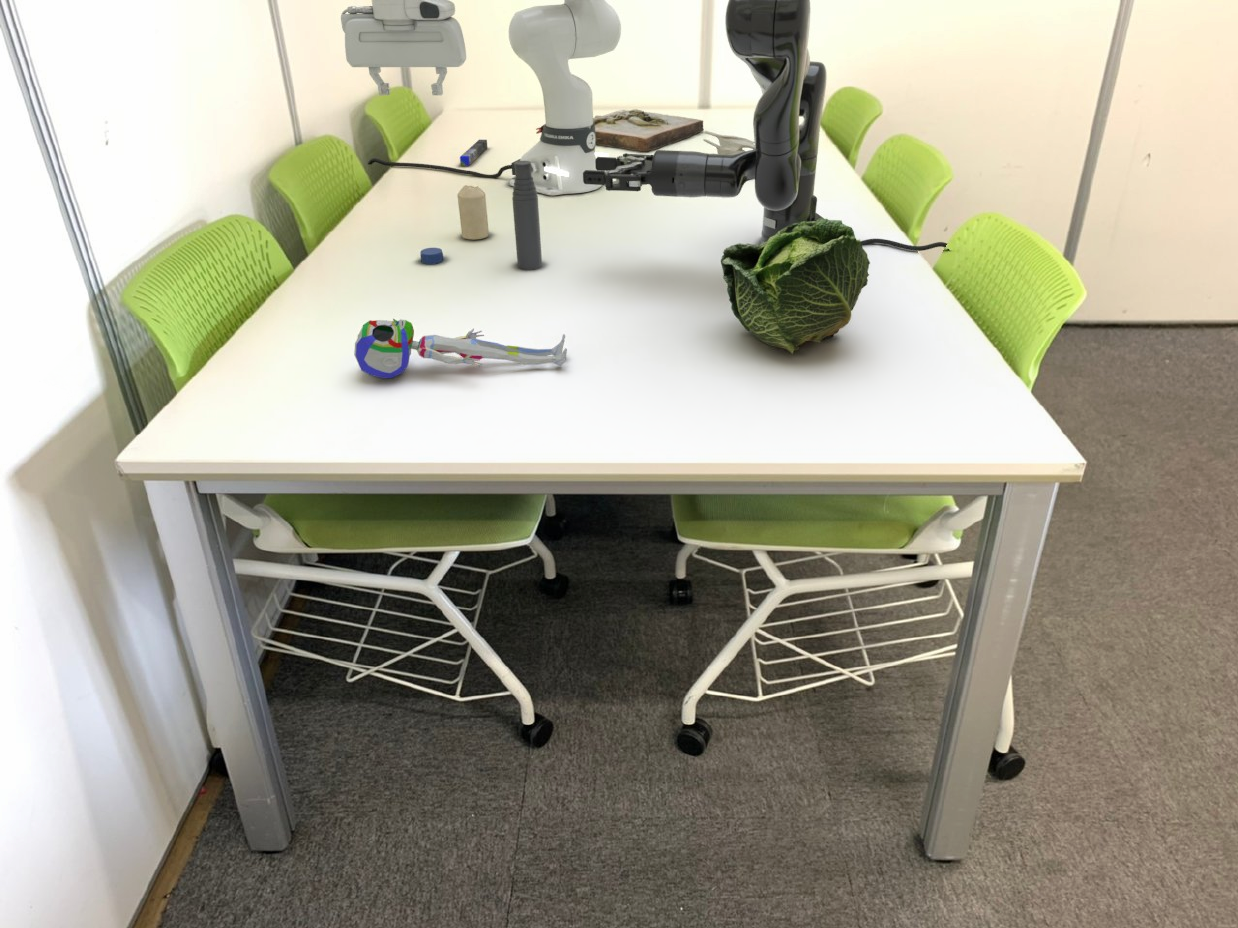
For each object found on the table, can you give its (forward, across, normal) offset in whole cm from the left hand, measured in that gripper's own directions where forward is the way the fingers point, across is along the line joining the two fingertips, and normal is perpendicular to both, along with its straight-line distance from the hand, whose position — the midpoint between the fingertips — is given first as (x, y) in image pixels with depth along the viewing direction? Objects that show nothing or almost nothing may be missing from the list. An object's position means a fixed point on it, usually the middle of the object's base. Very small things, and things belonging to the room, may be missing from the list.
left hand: (411, 95), depth 156 cm
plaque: (+30, +31, +107) cm, 115 cm away
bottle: (+30, +19, -2) cm, 36 cm away
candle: (+30, +5, +15) cm, 34 cm away
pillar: (+30, -10, +81) cm, 87 cm away
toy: (+30, +17, -46) cm, 57 cm away
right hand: (+12, +31, -3) cm, 34 cm away
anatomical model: (+30, +63, +68) cm, 98 cm away
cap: (+28, 0, 0) cm, 28 cm away
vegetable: (+30, +66, -32) cm, 79 cm away
